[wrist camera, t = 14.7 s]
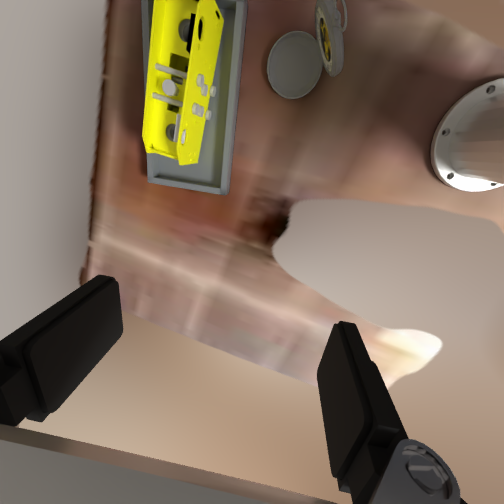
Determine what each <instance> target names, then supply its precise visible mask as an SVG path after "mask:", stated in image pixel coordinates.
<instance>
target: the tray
mask: <svg viewBox="0 0 504 504" xmlns="http://www.w3.org/2000/svg"><path fill="white" fill-rule="evenodd" d="M215 2H216V4H217V6H218V8H219V11H220V13H221V15H222V17H223V20H224V23H223V29H222V34H221V40H220V45H219V50H218V56H217V61H216V67H215V72H214V77H213V83H212V85H213V86H215V87H216V93H215V96H214V97H212V96H210V99H209V104H208V110H210V111H211V118H210V120H206V121H205V126H204V131H203V137H202V142H201V148H200V153H199V158H198V163H195V164H188V165H179V160H176V159H173V158H170V157H167V156H164V155H160V154H157V153H147V172H148V182H149V183H155V184H161V185H167V186H173V187H179V188H185V189H191V190H197V191H203V192H209V193H215V194H220V195H227V194H228V193H229V188H230V178H231V169H232V159H233V149H234V139H235V129H236V119H237V109H238V99H239V89H240V79H241V70H242V60H243V50H244V40H245V30H246V20H247V10H248V3H247V0H215ZM153 5H154V0H141V12H142V38H143V65H144V92H145V97H146V86H147V74H148V63H149V51H150V40H151V28H152V17H153ZM185 72H186V73H188V66H186V69H185Z"/></svg>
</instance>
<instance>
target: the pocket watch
mask: <svg viewBox="0 0 504 504" xmlns="http://www.w3.org/2000/svg"><path fill="white" fill-rule="evenodd" d="M341 1H342V4H343V7H344V17H345V22H344V27H343V28H342V27H341V14H340V12H339V11H338V10H337V7H336V2H337V0H317V3H316V7H315V30H316V38H317V40H316V39H315V38H314V37H313V36H312V35H311V34H309V33H307V32H304V31H292V32H289V33H286V34H285V35H283V36H282V37H281V38H279V39H278V40H277V42H276V43H275V44H274V45H273V47H272V49H271V51H270V54H269V57H268V62H267V74H268V79H269V82H270V84H271V86H272V88H273V90H274V91H275V92H276V93H278V94H279V95H280V96H282V97H284V98H287V99H297V98H301V97H303V96H305V95H306V94H308V93H309V92H310V91H311V90H312V89H313V88H314V87H315V86H316V84H317V82H318V80H319V78H320V75H321V72H322V68H323V65H324V67H325V70H326V71H327V73H328V74H329V75H330V76H331V77H335V76H336V75H338V74H339V73H340V72H341V71H342V68H343V63H344V44H343V34H342V32H344V31H345V29H346V26H347V8H346V4H345V0H341Z"/></svg>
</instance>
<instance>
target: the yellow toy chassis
mask: <svg viewBox="0 0 504 504" xmlns="http://www.w3.org/2000/svg"><path fill="white" fill-rule="evenodd" d="M223 23H224V20H223V17H222V15H221V13H220V11H219V8H218V6H217V4H216V2H215V0H154V5H153V17H152V28H151V40H150V51H149V63H148V74H147V86H146V97H145V109H144V120H143V132H142V137H143V141H144V145H145V149H146V152H147V153H157V154H160V155H164V156H167V157H170V158H173V159H176V160H179V165H188V164H195V163H198V158H199V153H200V148H201V142H202V137H203V131H204V126H205V121H206V120H210V118H211V111H210V110H208V104H209V99H210V96H212V97H214V96H215V93H216V87H215V86H213V85H212V83H213V77H214V72H215V67H216V61H217V56H218V50H219V45H220V40H221V34H222V29H223ZM186 66H188V73H186V72H185V69H186Z"/></svg>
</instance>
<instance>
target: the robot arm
mask: <svg viewBox="0 0 504 504" xmlns="http://www.w3.org/2000/svg"><path fill="white" fill-rule="evenodd" d="M486 90H487V91H486ZM442 131H443V134H442ZM430 156H431V164H432V167H433V169H434V172H435V174H436V175H437V176H438V178H439V179H440V180H441V181H442V182H443V183H444V184H446V185H448V186H450V187H452V188H454V189H458V190H462V191H468V192H481V191H486V190H491V189H494V188H497V187H500V186H502V185H504V78H501V79H497V80H494V81H491V82H488V83H485V84H483V85H481V86H479V87H476V88H475V89H473V90H472V91H470V92H468V93H467V94H465V95H464V96H463V97H462V98H460V99H459V100H458V101H457V102H456V103H455V104H454V105H453V106H452V107H451V108H450V109H449V110H448V111H447V113H446V114H445V115H444V117H443V118H442V120H441V121H440V123H439V125H438V127H437V129H436V131H435V133H434V136H433V140H432V144H431V153H430ZM447 175H448V176H447ZM122 333H123V322H122V313H121V303H120V293H119V284H118V282H117V281H116V280H115V278H114V277H110V276H105V275H97V276H96V277H94V278H93V279H91V280H90V281H88V282H87V283H85V284H84V285H82V286H81V287H79V288H78V289H76V290H75V291H73V292H72V293H70V294H69V295H67V296H66V297H65V298H63V299H62V300H60V301H59V302H57V303H56V304H54V305H53V306H51V307H50V308H48V309H47V310H45V311H44V312H42V313H41V314H39V315H38V316H36V317H35V318H33V319H32V320H30V321H29V322H28V323H26V324H24V325H23V326H21V327H20V328H19V329H17V330H15V331H14V332H13V333H11V334H10V335H8V336H7V337H5V338H4V339H2V340H1V341H0V504H337V503H334V502H330V501H326V500H322V499H319V498H315V497H311V496H307V495H304V494H300V493H296V492H292V491H288V490H284V489H280V488H277V487H272V486H268V485H264V484H260V483H256V482H251V481H247V480H243V479H239V478H234V477H230V476H226V475H222V474H218V473H214V472H209V471H205V470H201V469H197V468H193V467H188V466H184V465H180V464H176V463H171V462H167V461H162V460H158V459H154V458H150V457H145V456H141V455H137V454H133V453H128V452H124V451H120V450H115V449H111V448H107V447H102V446H98V445H93V444H89V443H85V442H80V441H75V440H71V439H67V438H62V437H58V436H54V435H49V434H45V433H40V432H36V431H32V430H27V429H22V428H19V423H20V422H21V421H22V420H23V419H24V418H25V417H26V418H27V419H29V420H33V421H37V422H43V421H44V420H45V418H46V417H47V416H48V415H49V414H50V413H53V412H55V411H56V410H57V409H58V408H59V407H60V406H61V405H62V404H63V403H64V401H65V400H66V399H67V398H68V397H69V396H70V394H71V393H72V392H73V391H74V390H75V389H76V388H77V386H78V385H79V384H80V383H81V382H82V381H83V379H84V378H85V377H86V376H87V375H88V374H89V373H90V372H91V370H92V369H93V368H94V367H95V366H96V364H97V363H98V362H99V361H100V360H101V359H102V358H103V356H104V355H105V354H106V353H107V352H108V351H109V350H110V348H111V347H112V346H113V345H114V344H115V343H116V342H117V340H118V339H119V338H120V337H121V335H122ZM317 381H318V388H319V394H320V401H321V407H322V414H323V421H324V427H325V434H326V441H327V447H328V454H329V460H330V467H331V473H332V475H333V477H335V478H337V481H338V487H339V491H342V492H346V493H350V494H351V497H352V502H353V504H467V503H466V502H465V501H464V500H463V499H462V498H461V497H460V489H459V485H458V483H457V480H456V478H455V476H454V475H453V473H452V471H451V469H450V468H449V466H448V465H447V464H446V463H445V462H444V461H443V459H442V458H441V457H440V456H439V455H438V454H437V453H436V452H435V451H433V450H432V449H431V448H429V447H428V446H426V445H425V444H423V443H421V442H419V441H416V440H413V439H409V438H408V436H407V434H406V432H405V429H404V427H403V425H402V422H401V420H400V418H399V415H398V413H397V411H396V409H395V406H394V404H393V402H392V399H391V397H390V395H389V393H388V390H387V388H386V386H385V383H384V381H383V379H382V376H381V374H380V372H379V370H378V367H377V366H376V364H375V363H374V362H373V361H371V360H370V357H369V355H368V352H367V350H366V348H365V345H364V343H363V340H362V338H361V336H360V333H359V331H358V328H357V326H356V324H354V323H349V322H344V321H340V322H339V323H338V324H334V326H333V328H332V331H331V334H330V336H329V339H328V342H327V345H326V347H325V350H324V353H323V356H322V359H321V361H320V364H319V367H318V370H317Z"/></svg>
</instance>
